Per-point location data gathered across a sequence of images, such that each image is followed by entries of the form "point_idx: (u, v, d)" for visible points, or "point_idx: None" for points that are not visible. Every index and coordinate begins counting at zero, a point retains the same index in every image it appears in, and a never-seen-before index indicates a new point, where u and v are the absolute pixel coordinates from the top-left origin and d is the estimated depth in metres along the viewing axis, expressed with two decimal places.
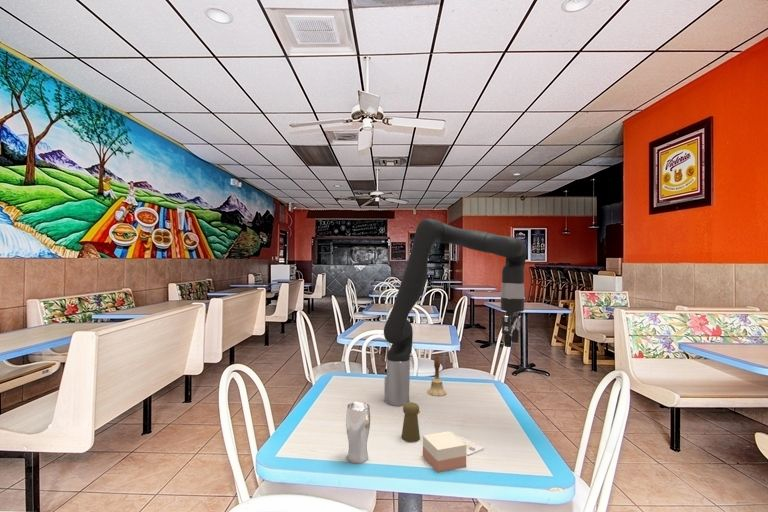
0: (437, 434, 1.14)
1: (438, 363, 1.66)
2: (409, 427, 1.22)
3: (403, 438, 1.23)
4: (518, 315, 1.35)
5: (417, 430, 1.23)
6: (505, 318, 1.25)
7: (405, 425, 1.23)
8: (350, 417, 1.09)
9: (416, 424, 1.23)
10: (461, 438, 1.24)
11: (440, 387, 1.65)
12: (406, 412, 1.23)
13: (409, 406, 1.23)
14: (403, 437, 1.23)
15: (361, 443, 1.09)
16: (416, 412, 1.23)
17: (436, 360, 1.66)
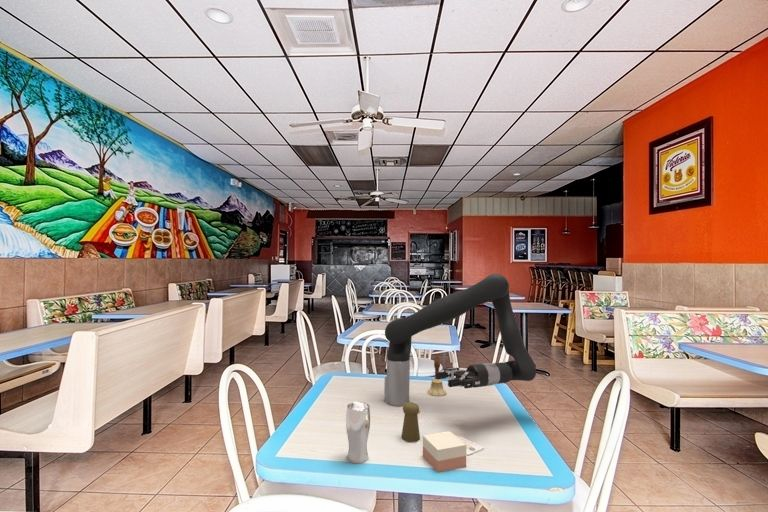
0: (437, 434, 1.14)
1: (438, 363, 1.66)
2: (409, 427, 1.22)
3: (403, 438, 1.23)
4: None
5: (417, 430, 1.23)
6: (478, 382, 1.26)
7: (405, 425, 1.23)
8: (350, 417, 1.09)
9: (416, 424, 1.23)
10: (461, 438, 1.24)
11: (440, 387, 1.65)
12: (406, 412, 1.23)
13: (409, 406, 1.23)
14: (403, 437, 1.23)
15: (361, 443, 1.09)
16: (416, 412, 1.23)
17: (436, 360, 1.66)
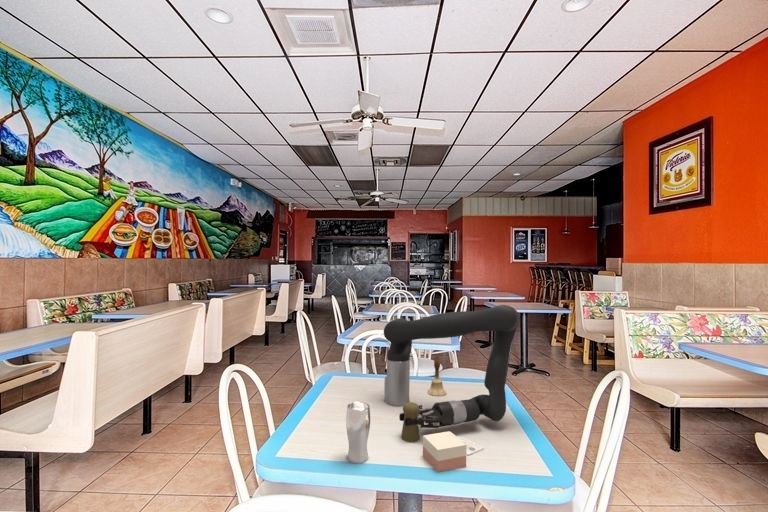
0: (437, 434, 1.14)
1: (438, 363, 1.66)
2: (409, 427, 1.22)
3: (403, 438, 1.23)
4: None
5: (417, 430, 1.23)
6: (436, 423, 1.21)
7: None
8: (350, 417, 1.09)
9: None
10: (461, 438, 1.24)
11: (440, 387, 1.65)
12: (406, 412, 1.23)
13: (409, 406, 1.23)
14: (403, 437, 1.23)
15: (361, 443, 1.09)
16: (416, 412, 1.23)
17: (436, 360, 1.66)
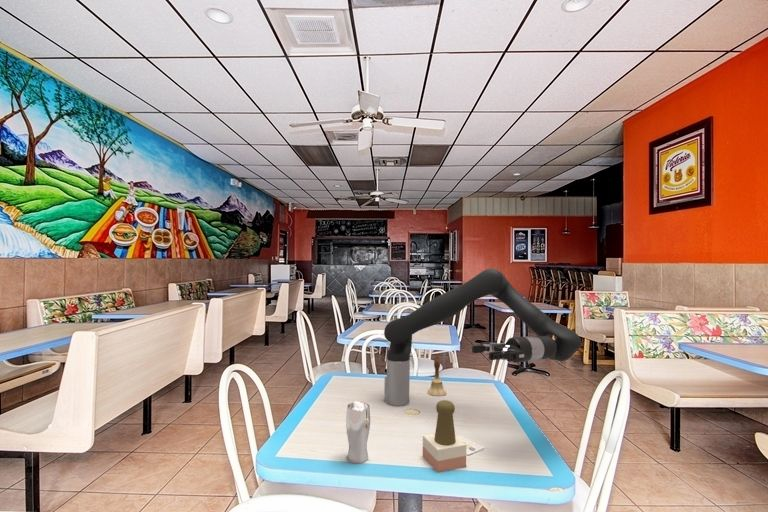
0: None
1: (438, 363, 1.66)
2: (445, 428, 1.08)
3: (437, 441, 1.08)
4: None
5: (453, 432, 1.09)
6: (522, 355, 1.12)
7: (439, 426, 1.09)
8: (350, 417, 1.09)
9: (452, 425, 1.09)
10: (461, 438, 1.24)
11: (440, 387, 1.65)
12: (441, 411, 1.08)
13: (444, 404, 1.09)
14: (437, 440, 1.09)
15: (361, 443, 1.09)
16: (452, 411, 1.08)
17: (436, 360, 1.66)
